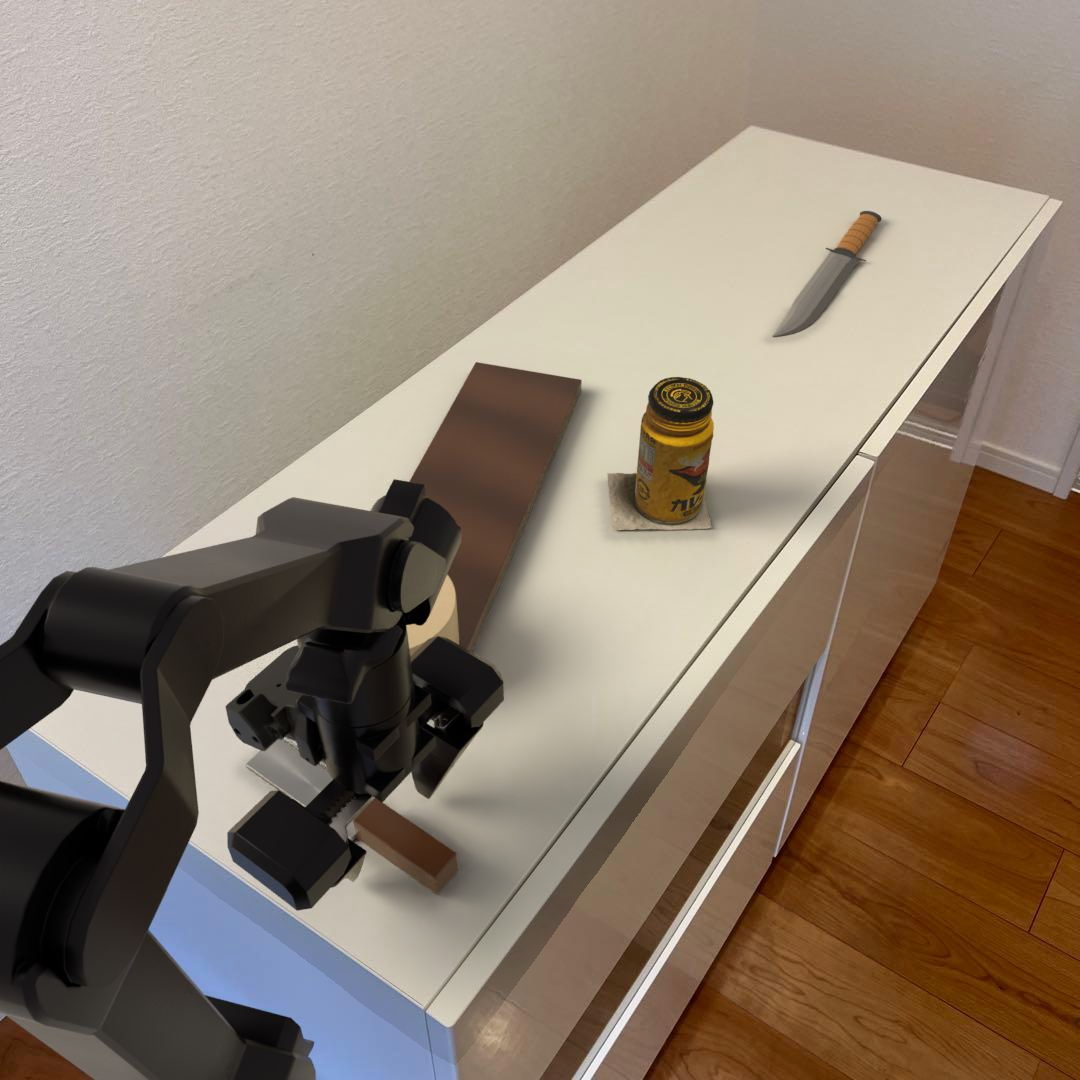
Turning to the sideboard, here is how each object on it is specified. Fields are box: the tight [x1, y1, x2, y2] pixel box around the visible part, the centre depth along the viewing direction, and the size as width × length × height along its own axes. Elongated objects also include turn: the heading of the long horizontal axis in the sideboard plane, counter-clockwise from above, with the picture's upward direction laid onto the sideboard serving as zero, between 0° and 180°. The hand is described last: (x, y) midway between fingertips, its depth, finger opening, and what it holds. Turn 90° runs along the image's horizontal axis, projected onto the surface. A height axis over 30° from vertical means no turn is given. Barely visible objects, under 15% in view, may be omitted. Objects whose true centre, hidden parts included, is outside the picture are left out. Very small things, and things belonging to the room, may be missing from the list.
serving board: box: [408, 361, 583, 653], centre depth 94 cm, size 40×11×2 cm, turn 164°
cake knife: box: [245, 739, 459, 895], centre depth 72 cm, size 17×3×2 cm, turn 54°
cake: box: [406, 575, 459, 656], centre depth 80 cm, size 10×10×5 cm
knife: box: [772, 210, 882, 337], centre depth 123 cm, size 30×1×5 cm
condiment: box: [606, 376, 715, 531], centre depth 91 cm, size 7×8×12 cm
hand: (388, 833), depth 71 cm, fingers open, 7 cm apart
